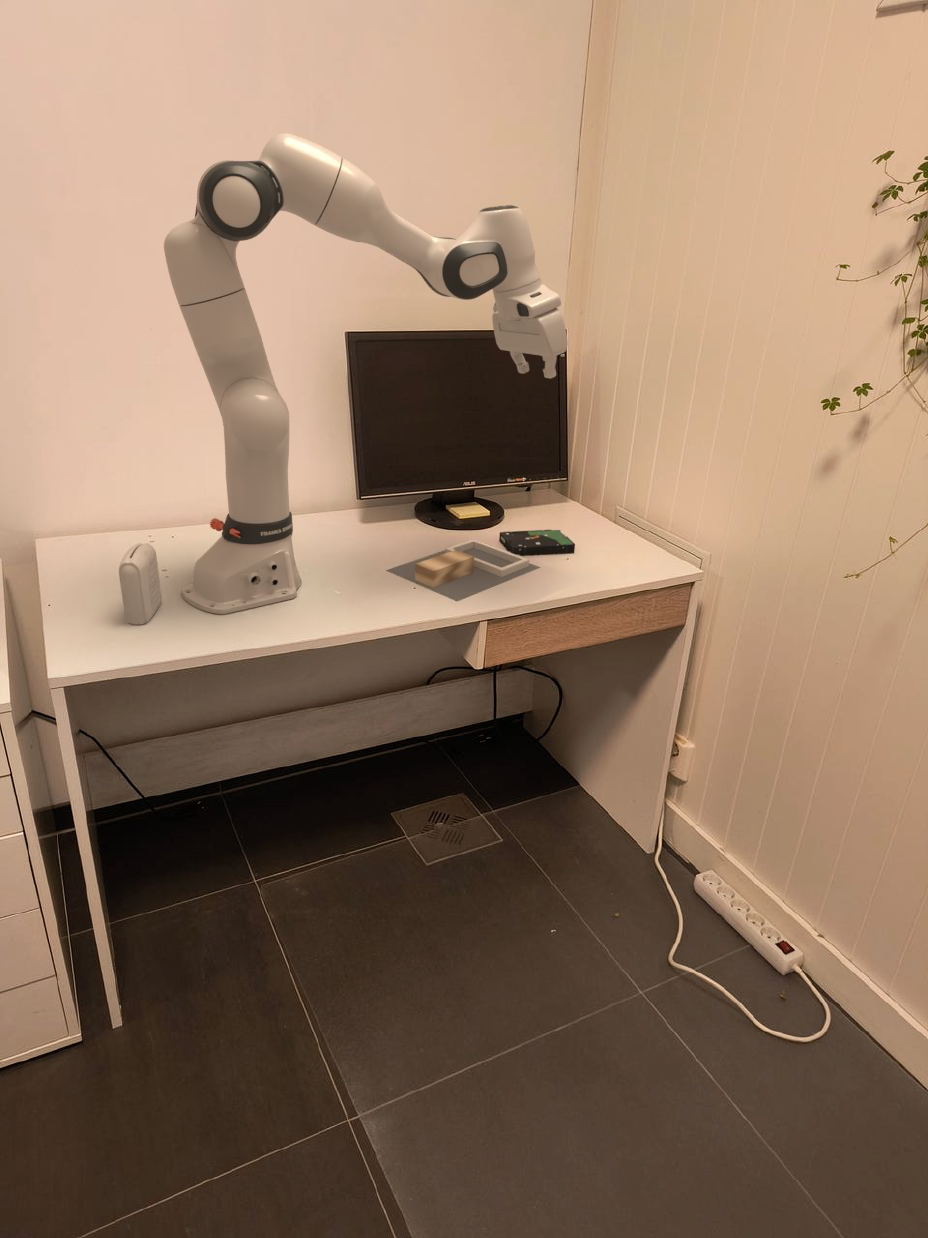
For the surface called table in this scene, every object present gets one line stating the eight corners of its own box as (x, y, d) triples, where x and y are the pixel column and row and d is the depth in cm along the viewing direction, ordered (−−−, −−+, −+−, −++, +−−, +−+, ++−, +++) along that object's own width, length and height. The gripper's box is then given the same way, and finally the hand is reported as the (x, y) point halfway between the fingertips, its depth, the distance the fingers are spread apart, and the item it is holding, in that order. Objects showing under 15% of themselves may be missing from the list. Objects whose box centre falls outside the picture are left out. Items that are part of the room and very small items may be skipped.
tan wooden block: (432, 587, 158) (433, 571, 157) (414, 579, 161) (415, 563, 160) (473, 572, 166) (474, 556, 165) (455, 565, 169) (456, 549, 168)
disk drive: (512, 559, 177) (575, 555, 180) (513, 547, 175) (576, 543, 179) (498, 543, 186) (557, 538, 189) (498, 531, 184) (559, 527, 188)
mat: (457, 603, 153) (457, 593, 152) (385, 572, 165) (385, 563, 164) (540, 568, 171) (541, 560, 170) (470, 543, 183) (471, 535, 182)
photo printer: (141, 600, 147) (132, 536, 142) (165, 600, 148) (157, 537, 142) (122, 625, 138) (112, 558, 133) (148, 626, 138) (139, 559, 133)
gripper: (478, 304, 154) (496, 375, 161) (535, 308, 137) (552, 386, 144) (505, 293, 156) (522, 363, 163) (565, 295, 139) (581, 373, 146)
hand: (537, 374), depth 153 cm, fingers open, 8 cm apart
